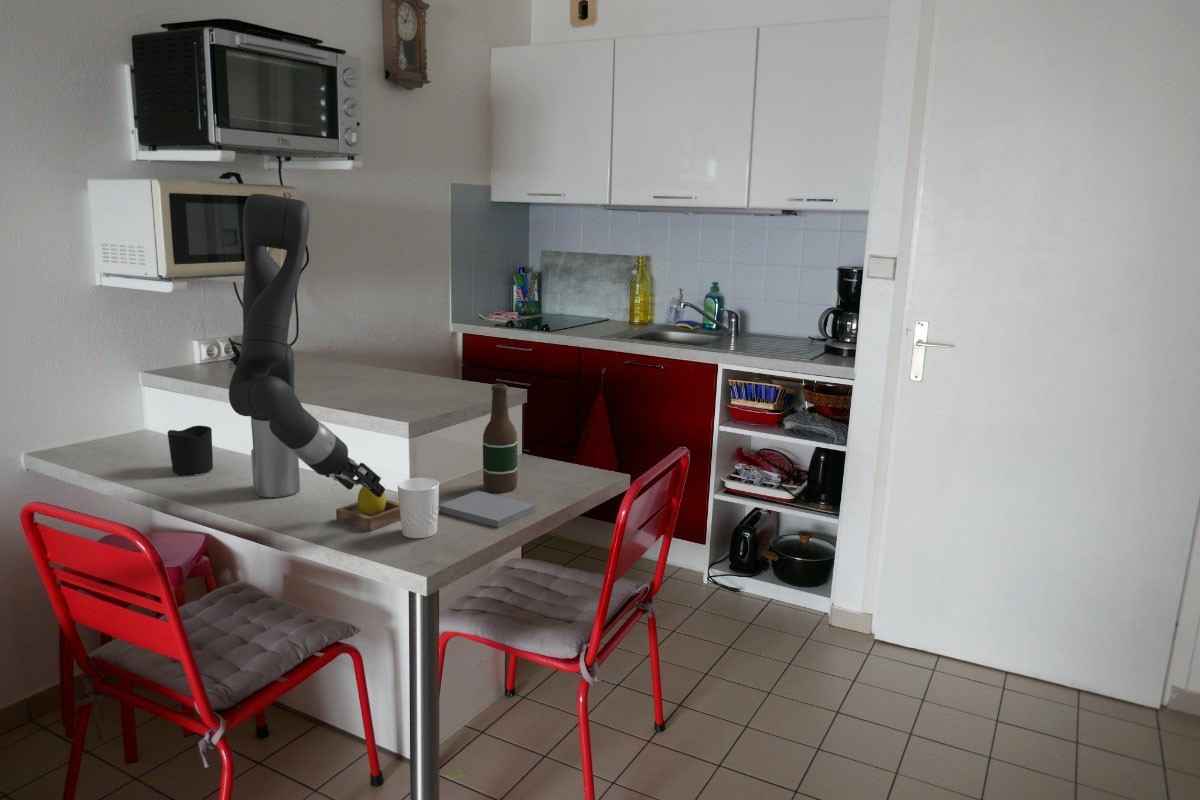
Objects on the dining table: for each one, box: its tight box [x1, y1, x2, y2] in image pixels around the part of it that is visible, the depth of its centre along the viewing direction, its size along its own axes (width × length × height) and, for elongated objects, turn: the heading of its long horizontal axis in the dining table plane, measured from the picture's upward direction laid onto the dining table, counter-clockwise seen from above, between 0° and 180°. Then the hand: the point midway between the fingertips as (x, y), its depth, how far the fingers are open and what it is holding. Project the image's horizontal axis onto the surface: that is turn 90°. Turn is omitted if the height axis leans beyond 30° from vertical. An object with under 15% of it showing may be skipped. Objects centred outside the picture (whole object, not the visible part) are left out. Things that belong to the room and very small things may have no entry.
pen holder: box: [166, 425, 214, 476], centre depth 208 cm, size 9×9×10 cm
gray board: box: [438, 490, 536, 529], centre depth 185 cm, size 16×12×2 cm
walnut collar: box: [335, 499, 401, 532], centre depth 179 cm, size 10×10×2 cm
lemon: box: [357, 486, 387, 517], centre depth 179 cm, size 6×6×8 cm
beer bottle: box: [482, 383, 518, 494], centre depth 198 cm, size 8×8×24 cm
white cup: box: [397, 477, 440, 539], centre depth 172 cm, size 8×8×10 cm
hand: (366, 489), depth 177 cm, fingers open, 8 cm apart
